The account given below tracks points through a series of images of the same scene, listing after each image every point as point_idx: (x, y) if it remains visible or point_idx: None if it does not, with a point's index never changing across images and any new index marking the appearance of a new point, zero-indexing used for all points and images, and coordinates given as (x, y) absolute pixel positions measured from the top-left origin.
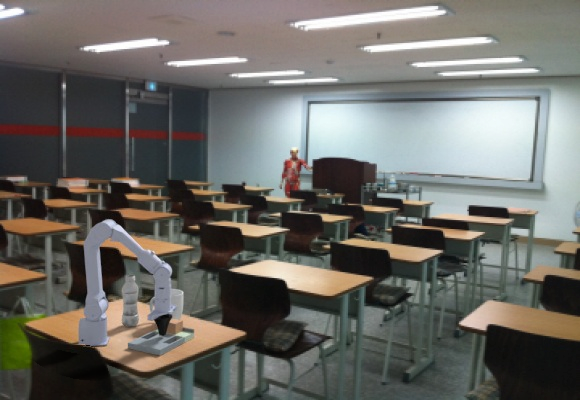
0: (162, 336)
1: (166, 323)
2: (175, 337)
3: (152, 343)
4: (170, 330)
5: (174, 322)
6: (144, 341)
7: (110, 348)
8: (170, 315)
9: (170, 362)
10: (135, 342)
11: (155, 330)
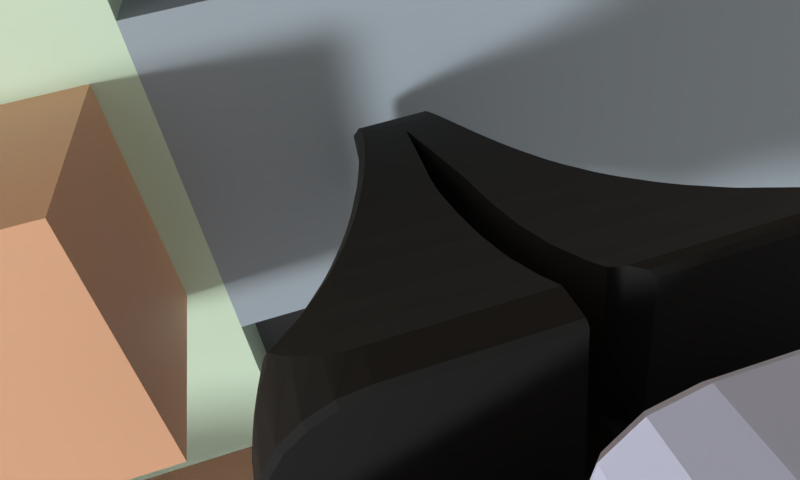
0: None
1: (508, 212)
2: (144, 5)
3: (716, 19)
4: (141, 238)
5: (1, 334)
6: (683, 182)
7: None
8: (418, 421)
9: None
10: None
11: (251, 436)
